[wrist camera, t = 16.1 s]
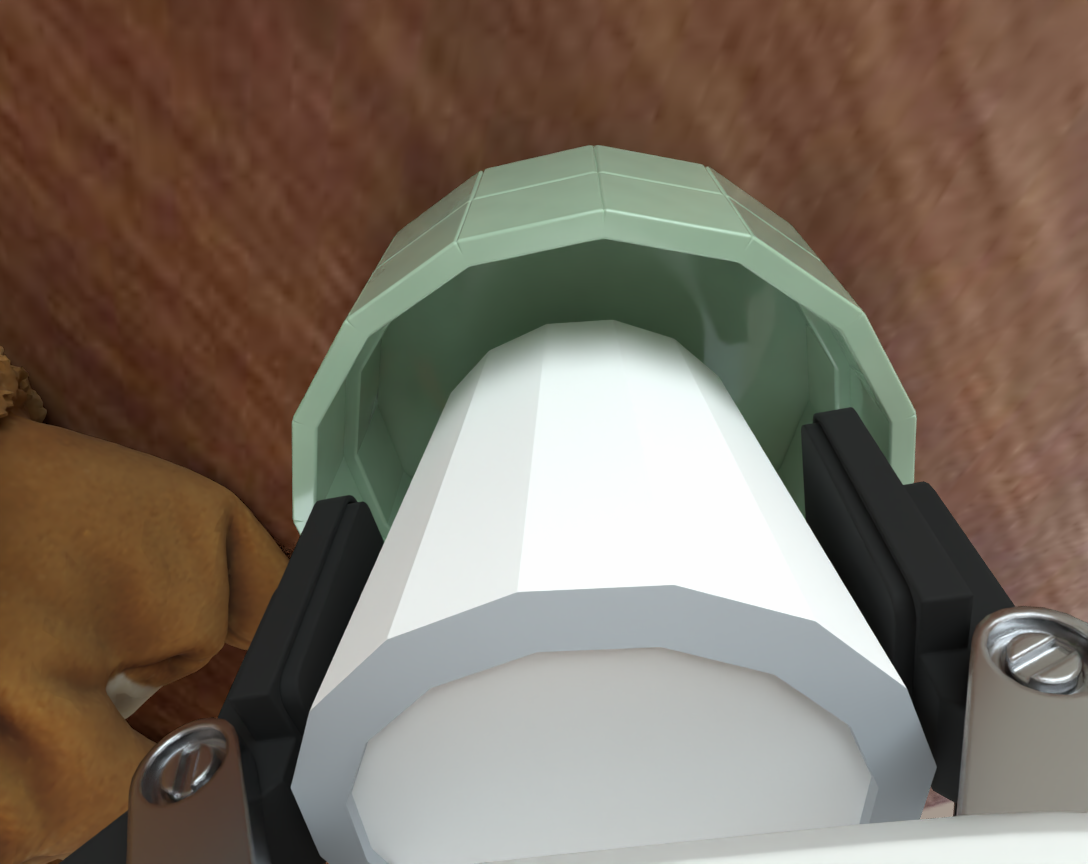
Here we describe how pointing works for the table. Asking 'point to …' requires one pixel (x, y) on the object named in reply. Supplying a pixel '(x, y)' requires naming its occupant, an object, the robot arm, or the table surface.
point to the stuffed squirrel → (103, 613)
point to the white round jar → (600, 632)
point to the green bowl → (590, 314)
